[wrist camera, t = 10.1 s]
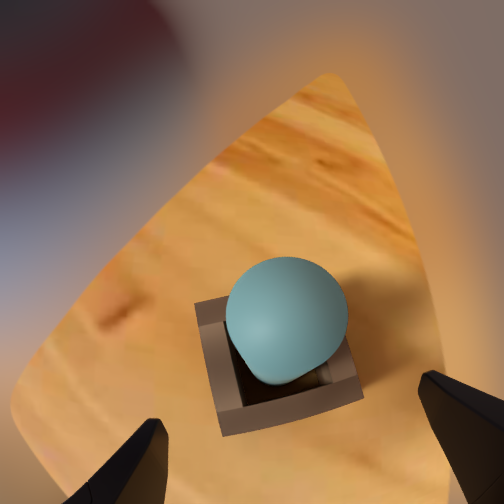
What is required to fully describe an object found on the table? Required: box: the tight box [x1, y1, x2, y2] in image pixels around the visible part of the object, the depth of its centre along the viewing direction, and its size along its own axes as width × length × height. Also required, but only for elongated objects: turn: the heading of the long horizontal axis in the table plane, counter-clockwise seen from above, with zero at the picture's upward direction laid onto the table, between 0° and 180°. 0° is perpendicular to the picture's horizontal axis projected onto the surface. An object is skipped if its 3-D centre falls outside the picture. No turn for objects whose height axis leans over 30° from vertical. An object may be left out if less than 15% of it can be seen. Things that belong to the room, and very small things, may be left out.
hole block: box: [194, 295, 364, 437], centre depth 18 cm, size 8×8×4 cm
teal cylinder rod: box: [226, 257, 348, 387], centre depth 14 cm, size 4×4×13 cm
